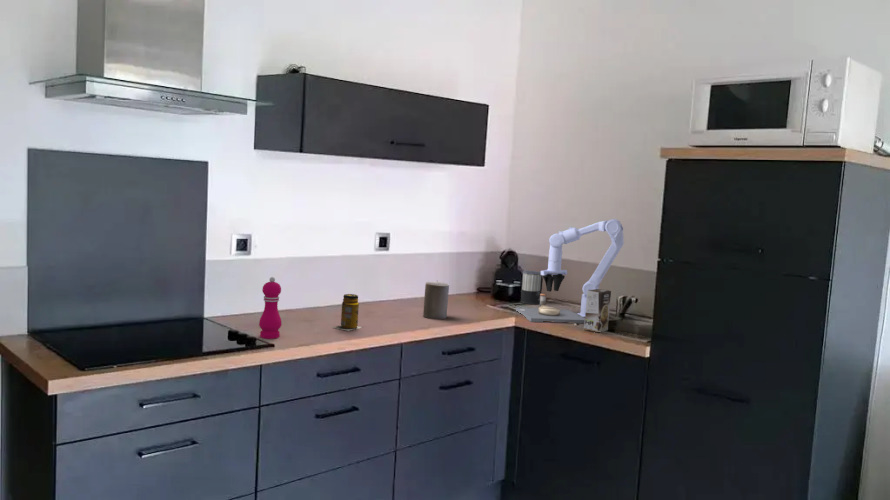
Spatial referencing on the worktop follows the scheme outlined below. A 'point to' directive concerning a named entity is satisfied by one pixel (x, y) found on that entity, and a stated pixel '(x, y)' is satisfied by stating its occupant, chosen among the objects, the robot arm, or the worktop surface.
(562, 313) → the stand board
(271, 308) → the pepper mill
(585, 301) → the robot arm
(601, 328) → the coffee box
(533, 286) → the milk frother
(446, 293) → the pillar candle
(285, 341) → the worktop surface
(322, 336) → the worktop surface
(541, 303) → the cam dial
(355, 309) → the condiment
